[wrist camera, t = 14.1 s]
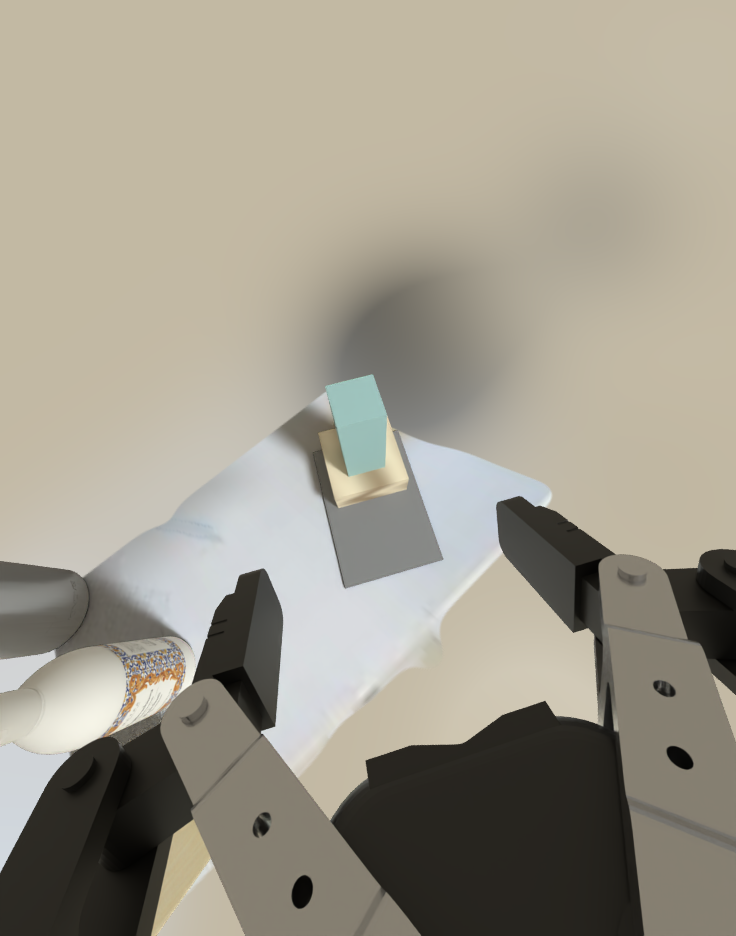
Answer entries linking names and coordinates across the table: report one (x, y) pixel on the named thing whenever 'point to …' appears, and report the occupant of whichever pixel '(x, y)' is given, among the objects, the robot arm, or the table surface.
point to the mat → (380, 529)
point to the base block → (365, 483)
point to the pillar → (359, 423)
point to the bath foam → (94, 693)
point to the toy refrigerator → (180, 871)
